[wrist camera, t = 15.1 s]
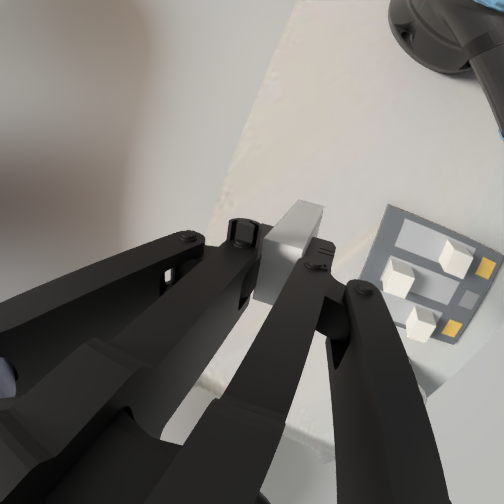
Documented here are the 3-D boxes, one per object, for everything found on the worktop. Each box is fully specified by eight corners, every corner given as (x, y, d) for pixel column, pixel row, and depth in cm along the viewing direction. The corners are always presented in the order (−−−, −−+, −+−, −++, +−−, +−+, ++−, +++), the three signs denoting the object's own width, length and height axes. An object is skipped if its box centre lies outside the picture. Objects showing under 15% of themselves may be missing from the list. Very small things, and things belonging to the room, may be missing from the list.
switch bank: (387, 204, 40) (388, 206, 39) (501, 253, 35) (504, 257, 34) (347, 304, 48) (346, 308, 47) (452, 340, 43) (453, 345, 42)
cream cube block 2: (391, 258, 41) (393, 270, 38) (411, 266, 40) (414, 278, 37) (382, 278, 43) (383, 291, 39) (401, 285, 42) (404, 299, 38)
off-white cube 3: (414, 305, 42) (418, 320, 39) (432, 312, 41) (436, 326, 38) (405, 322, 44) (407, 337, 40) (422, 328, 43) (425, 343, 40)
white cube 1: (447, 239, 37) (454, 249, 33) (465, 247, 36) (473, 257, 33) (438, 260, 38) (444, 271, 35) (456, 267, 38) (463, 279, 34)
